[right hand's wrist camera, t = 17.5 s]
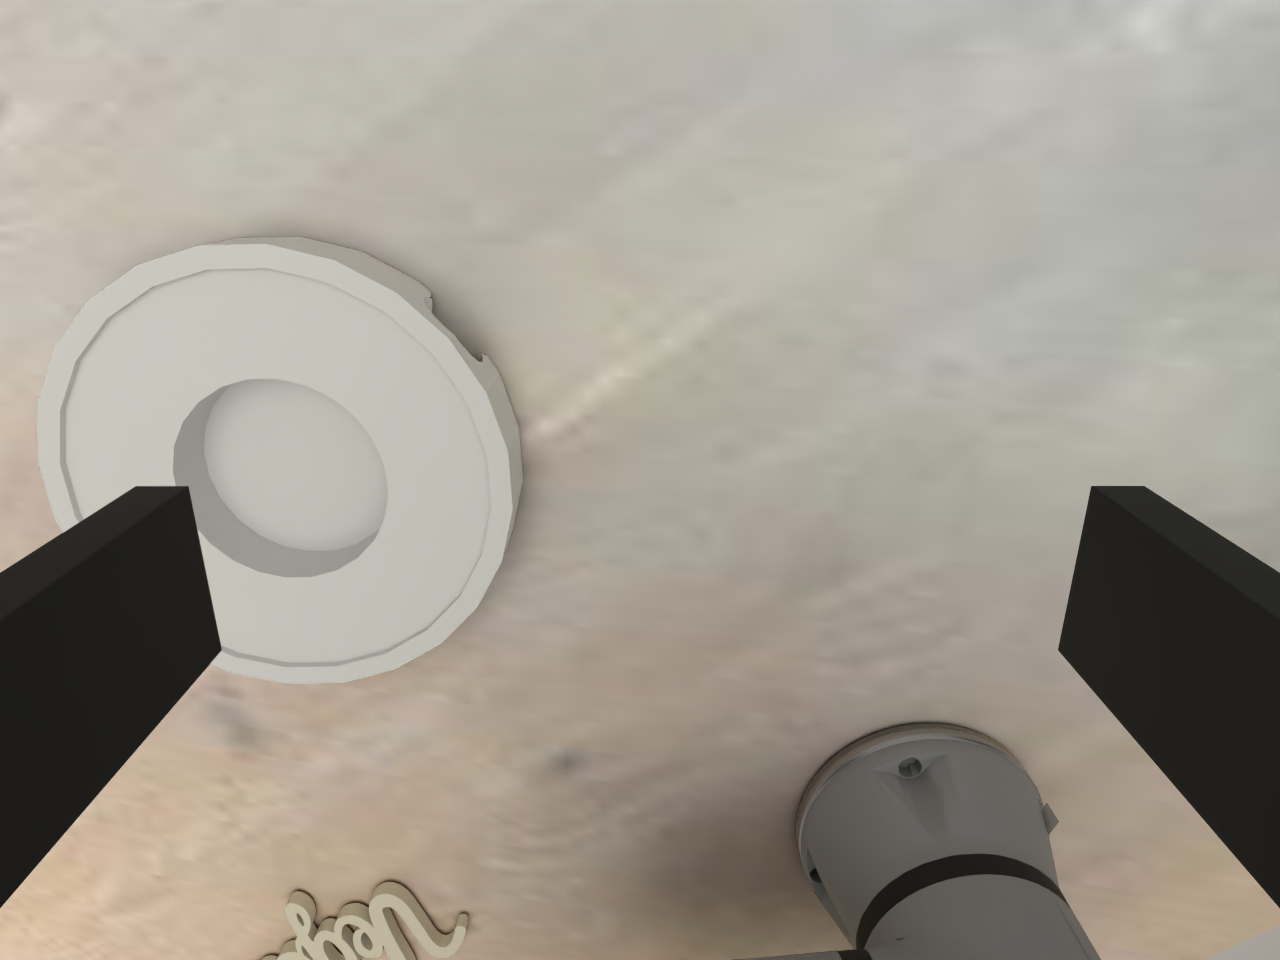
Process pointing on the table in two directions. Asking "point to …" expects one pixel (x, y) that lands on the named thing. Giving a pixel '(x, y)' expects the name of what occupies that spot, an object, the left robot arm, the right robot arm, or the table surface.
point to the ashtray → (293, 447)
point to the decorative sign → (366, 929)
